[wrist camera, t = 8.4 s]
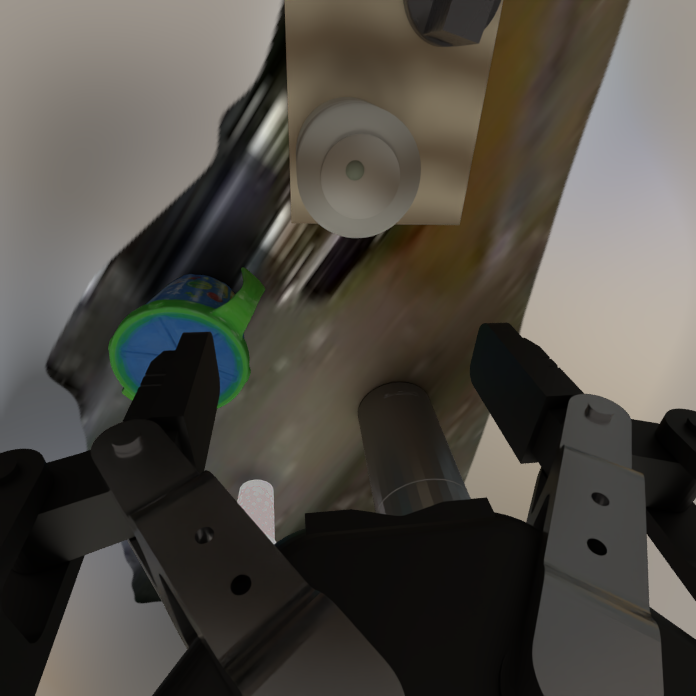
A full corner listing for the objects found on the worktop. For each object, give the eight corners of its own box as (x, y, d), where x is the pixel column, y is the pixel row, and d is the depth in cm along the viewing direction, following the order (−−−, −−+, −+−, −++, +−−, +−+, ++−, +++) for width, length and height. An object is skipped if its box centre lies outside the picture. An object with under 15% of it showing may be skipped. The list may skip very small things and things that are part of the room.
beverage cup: (252, 469, 55) (242, 575, 44) (288, 487, 58) (286, 591, 47) (224, 493, 57) (207, 600, 46) (260, 509, 60) (252, 614, 49)
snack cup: (228, 217, 37) (209, 262, 28) (298, 303, 42) (299, 362, 34) (102, 308, 40) (53, 371, 32) (182, 376, 46) (158, 446, 37)
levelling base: (452, 218, 39) (501, 264, 30) (291, 216, 37) (291, 264, 28) (523, -171, 26) (651, -301, 17) (278, -202, 24) (270, -367, 15)
